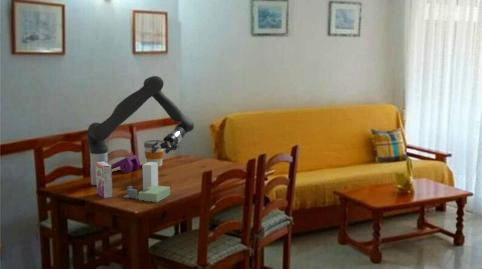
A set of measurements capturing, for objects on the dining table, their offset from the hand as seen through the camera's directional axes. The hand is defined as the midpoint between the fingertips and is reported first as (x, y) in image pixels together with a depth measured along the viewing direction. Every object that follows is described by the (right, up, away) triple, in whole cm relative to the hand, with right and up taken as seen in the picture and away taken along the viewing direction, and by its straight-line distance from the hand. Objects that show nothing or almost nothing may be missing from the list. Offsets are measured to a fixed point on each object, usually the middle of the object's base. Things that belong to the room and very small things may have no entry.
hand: (159, 151), depth 292 cm
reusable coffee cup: (-10, -10, +48) cm, 50 cm away
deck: (-3, -22, -21) cm, 31 cm away
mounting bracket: (-27, -13, +35) cm, 46 cm away
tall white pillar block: (-3, -20, -9) cm, 22 cm away
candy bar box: (-24, -22, -20) cm, 38 cm away
